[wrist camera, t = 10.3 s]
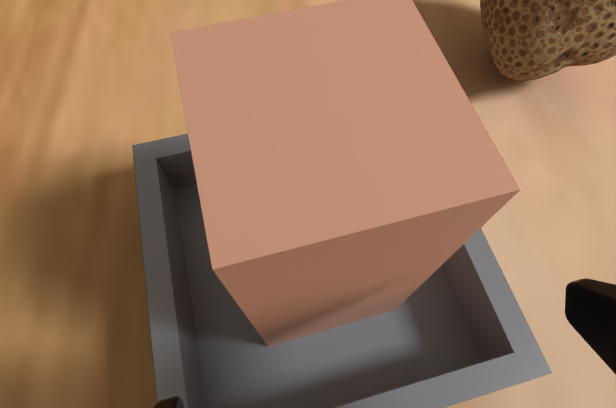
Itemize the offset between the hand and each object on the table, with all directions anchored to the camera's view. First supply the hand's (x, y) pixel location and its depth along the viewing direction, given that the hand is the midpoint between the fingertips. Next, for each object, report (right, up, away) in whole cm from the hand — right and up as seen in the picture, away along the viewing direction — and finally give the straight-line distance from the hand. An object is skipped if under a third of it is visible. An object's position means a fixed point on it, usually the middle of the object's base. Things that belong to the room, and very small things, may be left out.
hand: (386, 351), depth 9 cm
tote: (-1, 0, +12) cm, 12 cm away
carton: (-1, 0, +11) cm, 11 cm away
